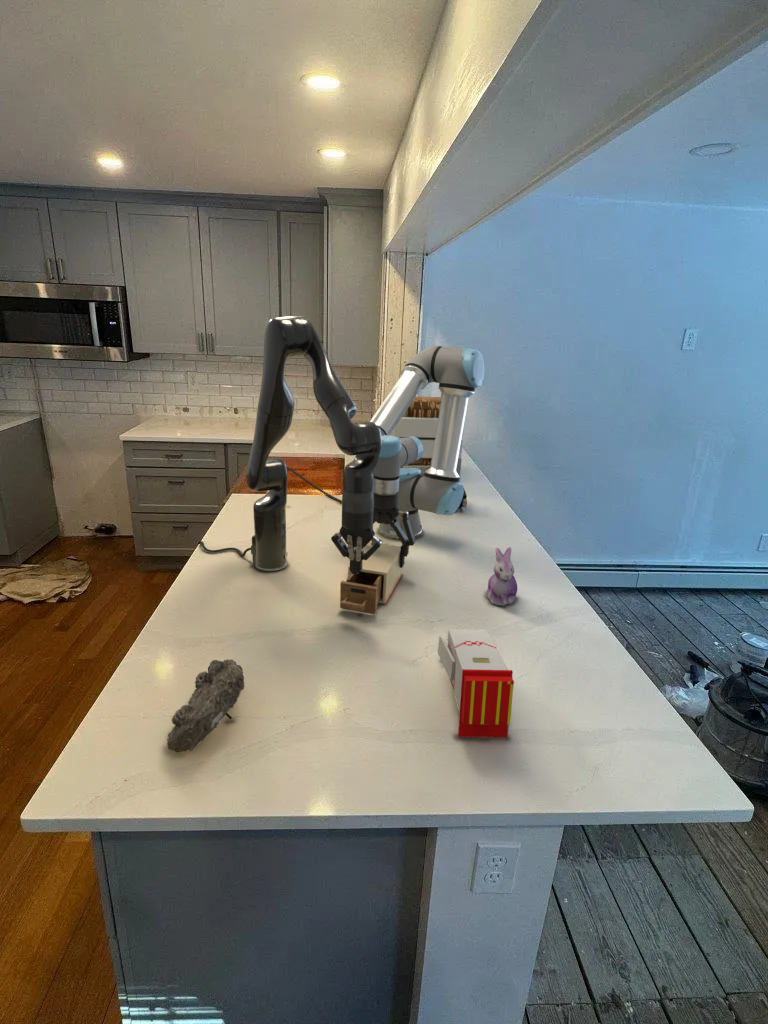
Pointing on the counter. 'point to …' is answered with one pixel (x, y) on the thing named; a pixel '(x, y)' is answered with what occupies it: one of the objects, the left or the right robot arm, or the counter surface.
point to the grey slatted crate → (423, 427)
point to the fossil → (206, 705)
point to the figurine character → (463, 502)
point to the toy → (478, 682)
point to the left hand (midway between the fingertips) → (355, 573)
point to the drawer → (361, 592)
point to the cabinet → (383, 567)
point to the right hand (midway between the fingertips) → (382, 562)
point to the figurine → (502, 580)
